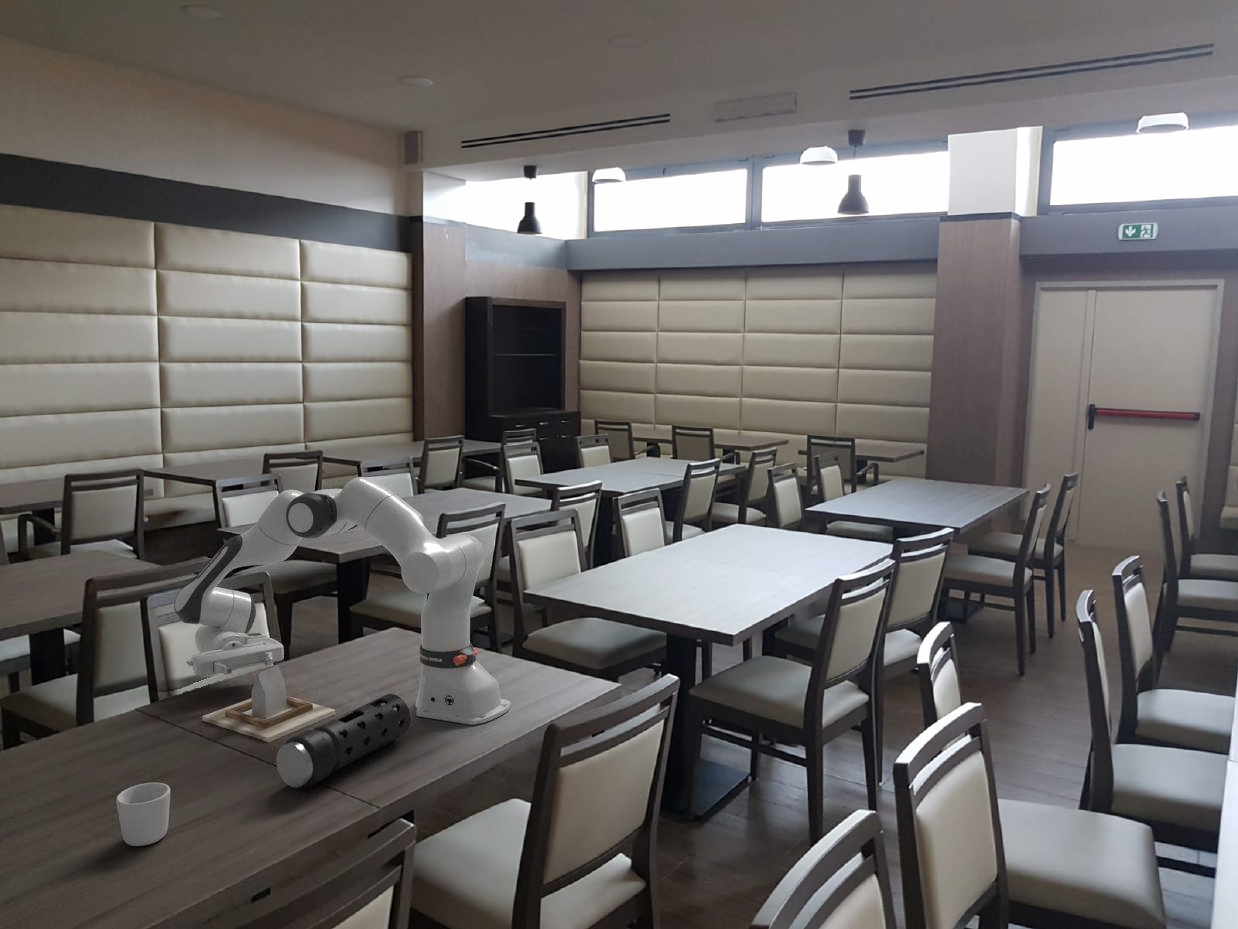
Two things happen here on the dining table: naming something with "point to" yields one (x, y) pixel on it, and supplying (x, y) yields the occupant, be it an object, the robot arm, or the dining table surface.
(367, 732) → the muzzle brake
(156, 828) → the cup
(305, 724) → the holder
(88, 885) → the dining table surface
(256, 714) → the tea bag
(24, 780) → the dining table surface
